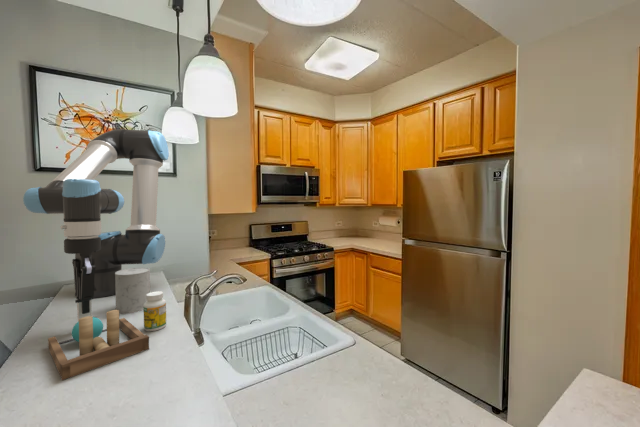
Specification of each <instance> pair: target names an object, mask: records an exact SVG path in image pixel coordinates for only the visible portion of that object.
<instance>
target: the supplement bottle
mask: <svg viewBox="0 0 640 427" xmlns="http://www.w3.org/2000/svg"><path fill="white" fill-rule="evenodd" d="M163 297H164V293H163V291H161V290H160V291H158V290H157V291H152V292H151V291H150V293H148V294H146V299H147V301H146V302H145V303H144V306H143V308H144V310H143V329H144V331H146V332H155V331H159V330H162V329H164V328H165V327H166V326H167V301H166V299H164V298H163Z"/></svg>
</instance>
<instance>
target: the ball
mask: <svg viewBox="0 0 640 427" xmlns="http://www.w3.org/2000/svg"><path fill="white" fill-rule="evenodd" d="M92 317H93V339H94V338H95V337H100V336H101V334H102V333H103V332H102V330H104V324H103V322H102V320H101V319H100V318H99V317H96V316H95V317H94V316H92ZM71 338H72V339H74V340H73V341H75V342H77V343H79V321H78V320H77V322H76V323H75V324H74V325H73V327H72V329H71Z"/></svg>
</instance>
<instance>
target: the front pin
mask: <svg viewBox="0 0 640 427" xmlns="http://www.w3.org/2000/svg"><path fill="white" fill-rule="evenodd" d="M107 347H110V346H109V345H108V344H107V341H105V340H104V338H103V337H101V336H98V337H95V338H94V339H93V351H97V350H100V349H104V348H107Z"/></svg>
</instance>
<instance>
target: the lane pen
mask: <svg viewBox="0 0 640 427" xmlns="http://www.w3.org/2000/svg"><path fill="white" fill-rule="evenodd" d="M119 330H120V331H122V332H123V333H124V334H125V336H127V337H128V338H129V339H128V340H126V341H123V342H119V344H116V345H113V346H110V347H107V348H104V349H100V350H97V351H95V350H93V352H91V353H88V354H85V355H82V356H80V355H79V356H76V357H73V358H69V359H68V357H66V354H65V353H64V350H63V348H62V347H61V344H59V341H58V339H57V337H56V336H52V337H51V336H50V337H48V338H47V347H48V351H49V353H50V355H51V358H52V361H53V363H54V365H55V368H56V369H57V371H58V374H59V377H60V379H61V381H64V380H67V379H71V378H73V377H75V376H78V375H81V374H84V373H88V372H89V371H92V370H95V369H97V368H100V367H103V366H105V365H108V364H111V363H114V362H117V361H119V360H122V359H125V358H127V357H131V356H133V355H137V354H138V353H139V354H140V353H141V352H145V351H146V350H147V351H148V350H149V349H150V336H149V335H148V334H144V333H143V332H142V331H141V330H139V328H137V327H136V326H135V325H133V324H132V323H131V322H130V321H128V320H127V319H126V318H125V317H123V318H119Z"/></svg>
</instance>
